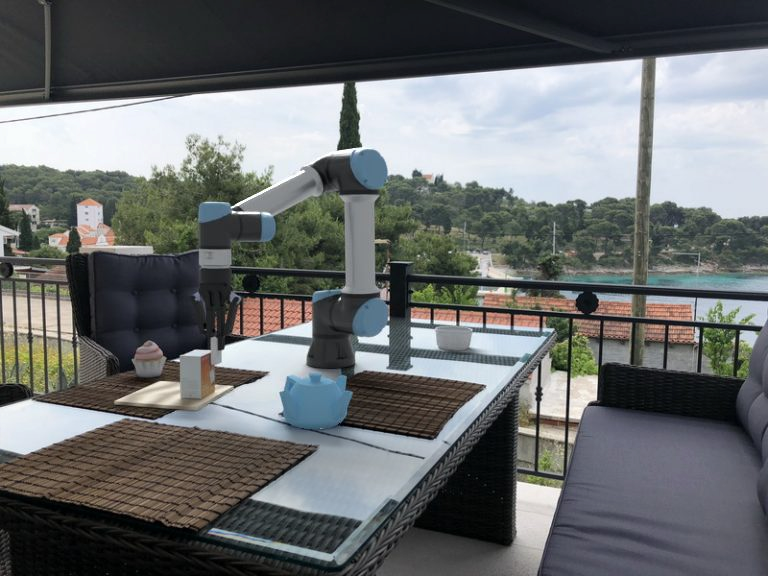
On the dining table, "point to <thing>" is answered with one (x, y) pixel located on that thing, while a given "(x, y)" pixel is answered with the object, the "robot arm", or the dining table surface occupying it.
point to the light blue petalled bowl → (315, 401)
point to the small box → (196, 374)
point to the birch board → (169, 397)
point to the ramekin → (453, 337)
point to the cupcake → (149, 360)
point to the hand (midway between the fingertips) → (216, 363)
